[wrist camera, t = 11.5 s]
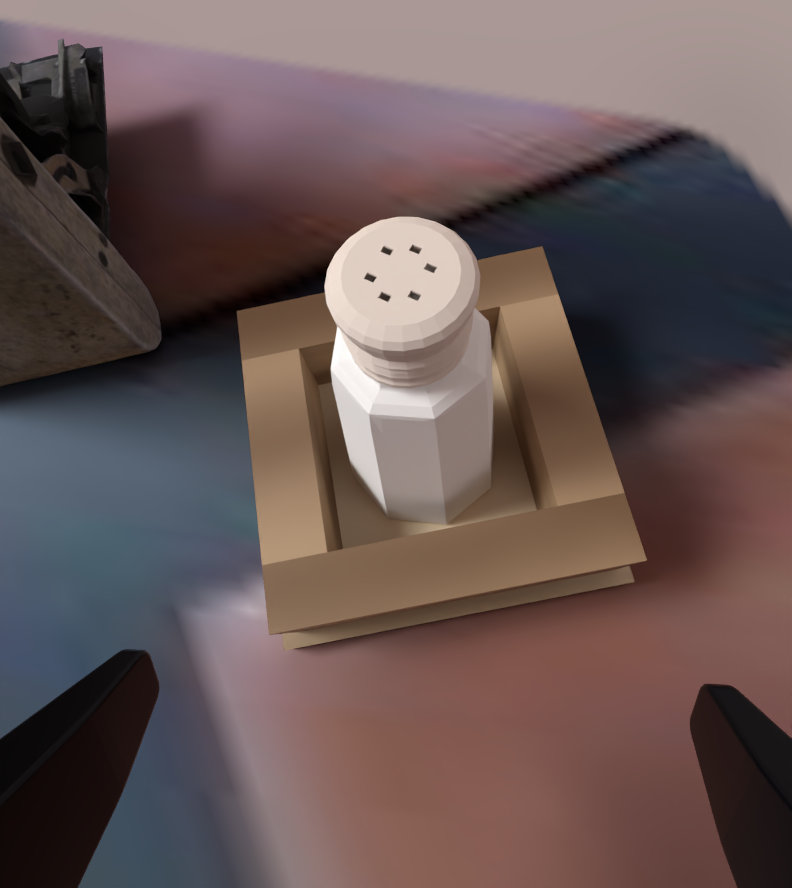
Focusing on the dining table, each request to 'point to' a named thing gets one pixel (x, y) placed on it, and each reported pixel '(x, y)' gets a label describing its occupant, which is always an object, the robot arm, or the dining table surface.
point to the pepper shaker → (412, 368)
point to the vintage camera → (62, 225)
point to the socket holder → (419, 543)
